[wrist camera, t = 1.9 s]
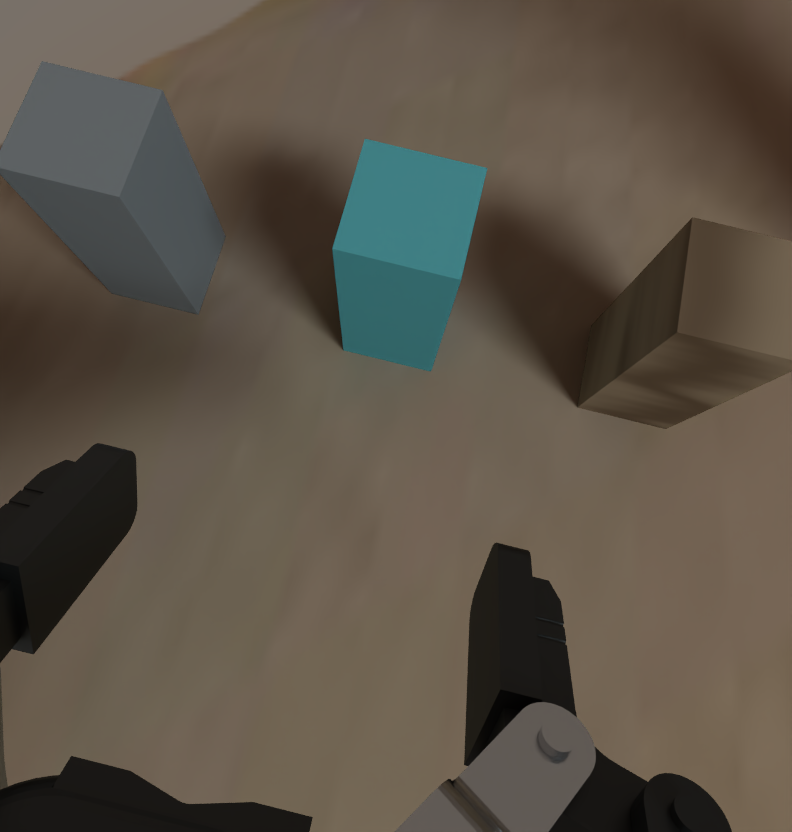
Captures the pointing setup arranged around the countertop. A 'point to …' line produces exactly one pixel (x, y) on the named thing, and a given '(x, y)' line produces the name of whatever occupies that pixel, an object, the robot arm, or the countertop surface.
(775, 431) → the countertop surface
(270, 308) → the countertop surface
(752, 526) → the countertop surface
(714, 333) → the walnut block
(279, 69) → the countertop surface
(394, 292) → the teal block
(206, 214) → the charcoal block
